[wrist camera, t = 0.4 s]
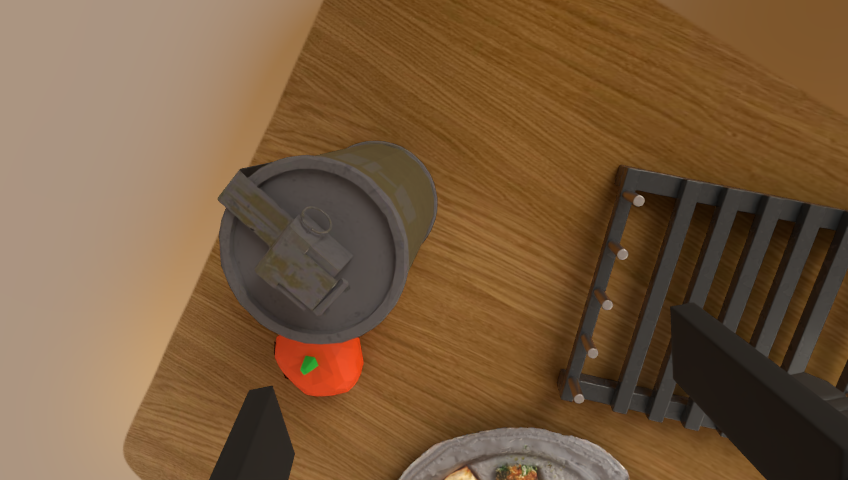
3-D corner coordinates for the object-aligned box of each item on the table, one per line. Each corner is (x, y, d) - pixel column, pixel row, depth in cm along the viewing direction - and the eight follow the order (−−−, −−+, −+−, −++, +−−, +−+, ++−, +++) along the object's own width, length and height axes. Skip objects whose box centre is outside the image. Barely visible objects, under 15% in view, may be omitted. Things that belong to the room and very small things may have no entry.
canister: (463, 198, 43) (446, 265, 24) (383, 284, 46) (310, 407, 26) (366, 110, 42) (266, 104, 23) (291, 202, 45) (144, 267, 25)
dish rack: (619, 164, 41) (640, 171, 35) (904, 221, 39) (971, 238, 34) (556, 384, 46) (566, 419, 40) (807, 441, 44) (851, 486, 39)
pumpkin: (340, 394, 49) (319, 434, 42) (274, 341, 48) (243, 374, 42) (386, 342, 47) (371, 377, 41) (318, 287, 46) (293, 313, 40)
